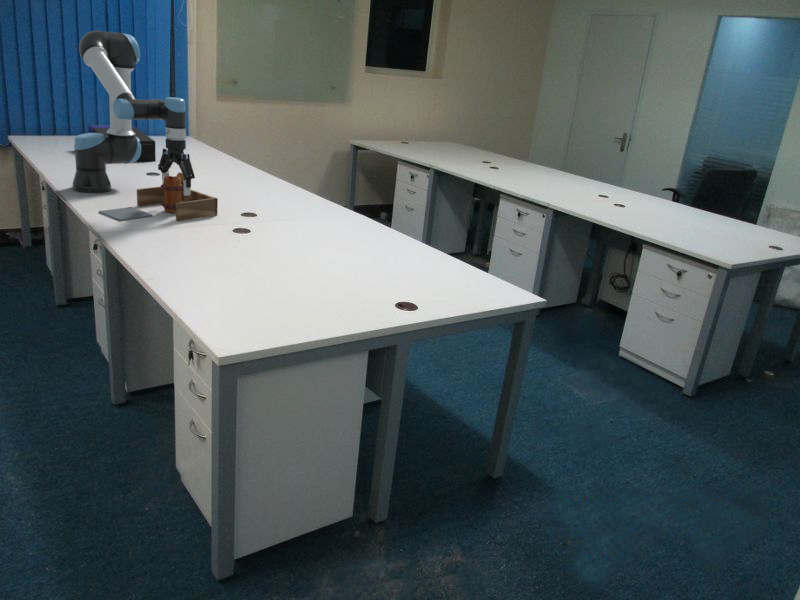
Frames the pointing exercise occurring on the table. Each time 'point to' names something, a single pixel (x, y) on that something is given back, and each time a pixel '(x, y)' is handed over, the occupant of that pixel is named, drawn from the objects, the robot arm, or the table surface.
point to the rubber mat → (125, 214)
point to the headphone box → (145, 141)
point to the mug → (173, 192)
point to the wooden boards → (181, 203)
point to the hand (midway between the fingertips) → (176, 192)
